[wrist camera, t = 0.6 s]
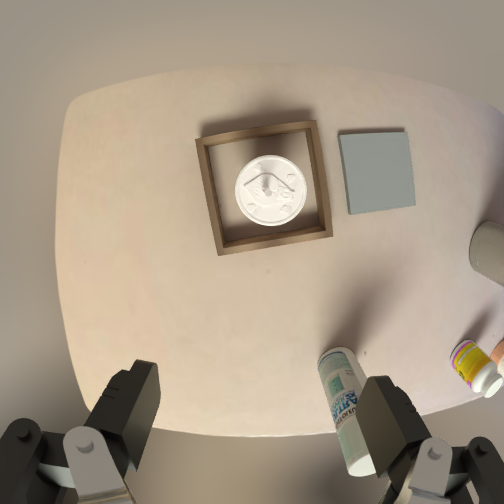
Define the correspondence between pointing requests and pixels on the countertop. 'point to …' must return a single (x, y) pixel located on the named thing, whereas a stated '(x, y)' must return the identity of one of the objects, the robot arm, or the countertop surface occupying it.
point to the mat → (377, 171)
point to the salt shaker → (499, 357)
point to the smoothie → (270, 190)
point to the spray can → (346, 405)
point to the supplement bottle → (476, 368)
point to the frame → (277, 238)
